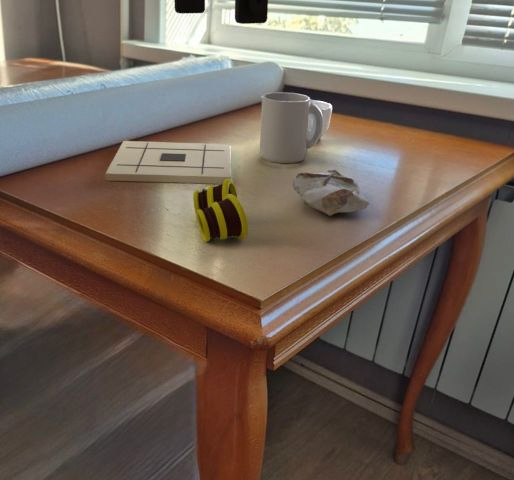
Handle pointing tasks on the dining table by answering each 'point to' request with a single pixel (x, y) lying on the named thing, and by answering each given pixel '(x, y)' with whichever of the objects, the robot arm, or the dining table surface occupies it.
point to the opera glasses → (220, 212)
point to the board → (171, 162)
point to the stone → (329, 192)
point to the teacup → (326, 115)
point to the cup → (288, 126)
